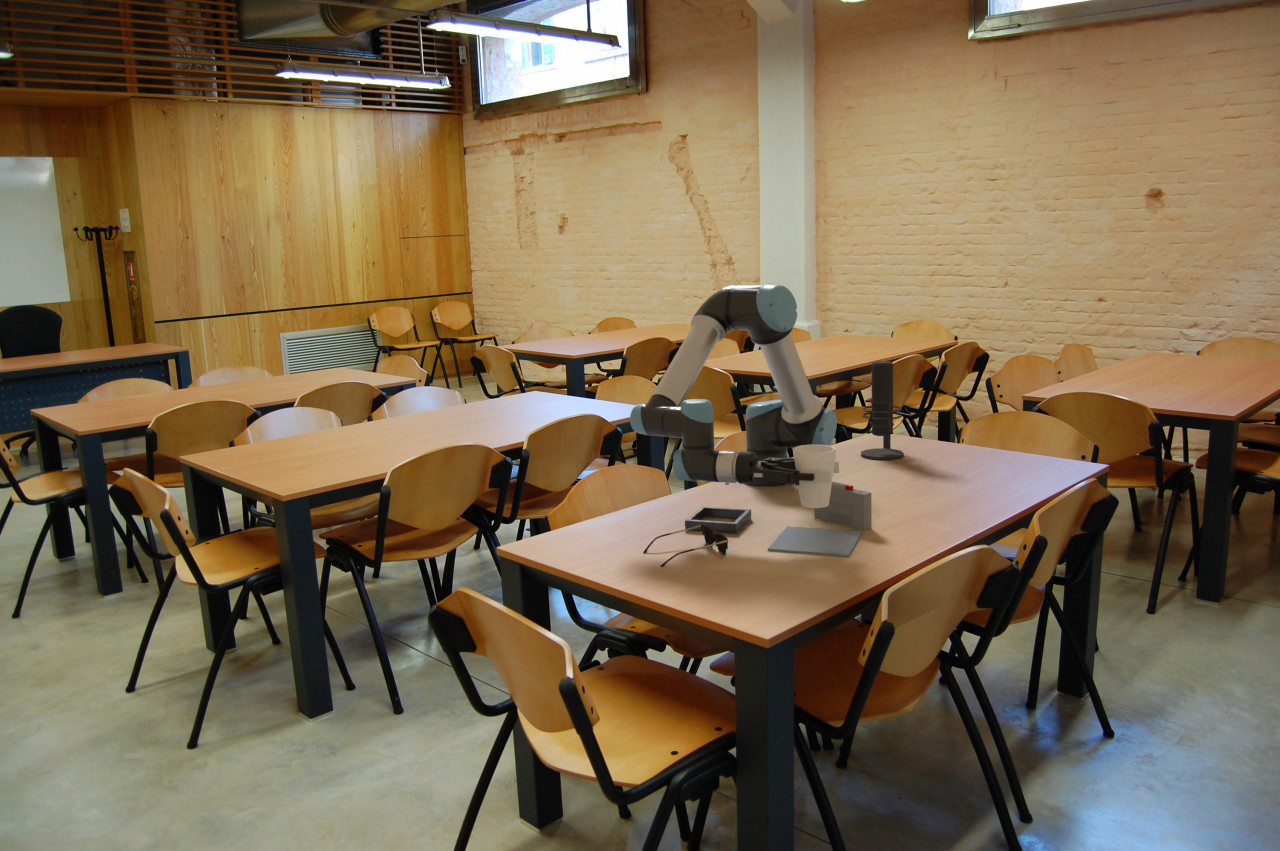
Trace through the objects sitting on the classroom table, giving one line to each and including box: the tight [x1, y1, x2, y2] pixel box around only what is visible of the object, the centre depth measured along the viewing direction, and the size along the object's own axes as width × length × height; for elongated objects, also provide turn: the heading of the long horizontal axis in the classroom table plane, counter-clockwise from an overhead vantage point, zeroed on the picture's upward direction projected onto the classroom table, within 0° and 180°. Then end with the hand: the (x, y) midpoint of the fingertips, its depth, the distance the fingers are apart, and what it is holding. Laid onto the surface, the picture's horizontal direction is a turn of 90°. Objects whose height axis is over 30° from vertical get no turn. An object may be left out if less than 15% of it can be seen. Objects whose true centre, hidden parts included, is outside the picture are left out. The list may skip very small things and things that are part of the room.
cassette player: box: [813, 480, 872, 532], centre depth 234 cm, size 16×3×10 cm, turn 38°
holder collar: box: [684, 506, 752, 535], centre depth 238 cm, size 13×13×2 cm
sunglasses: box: [642, 524, 729, 568], centre depth 216 cm, size 14×16×5 cm
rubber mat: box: [767, 525, 863, 558], centre depth 221 cm, size 18×18×1 cm
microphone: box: [860, 360, 905, 461], centre depth 303 cm, size 14×13×30 cm
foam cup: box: [792, 445, 837, 509], centre depth 218 cm, size 10×9×13 cm
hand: (834, 472), depth 216 cm, fingers closed on foam cup, 9 cm apart
